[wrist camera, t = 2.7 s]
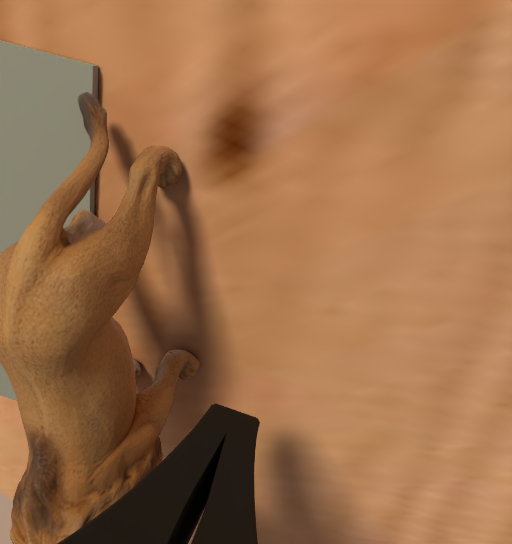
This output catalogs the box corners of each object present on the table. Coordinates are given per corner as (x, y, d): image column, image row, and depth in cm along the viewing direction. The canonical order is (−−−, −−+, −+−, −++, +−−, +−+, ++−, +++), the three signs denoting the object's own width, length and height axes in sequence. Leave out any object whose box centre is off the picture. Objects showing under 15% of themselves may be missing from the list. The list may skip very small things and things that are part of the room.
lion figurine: (245, 438, 19) (174, 709, 11) (135, 434, 20) (2, 675, 13) (169, 78, 13) (-107, 122, 5) (18, 102, 14) (-394, 168, 6)
